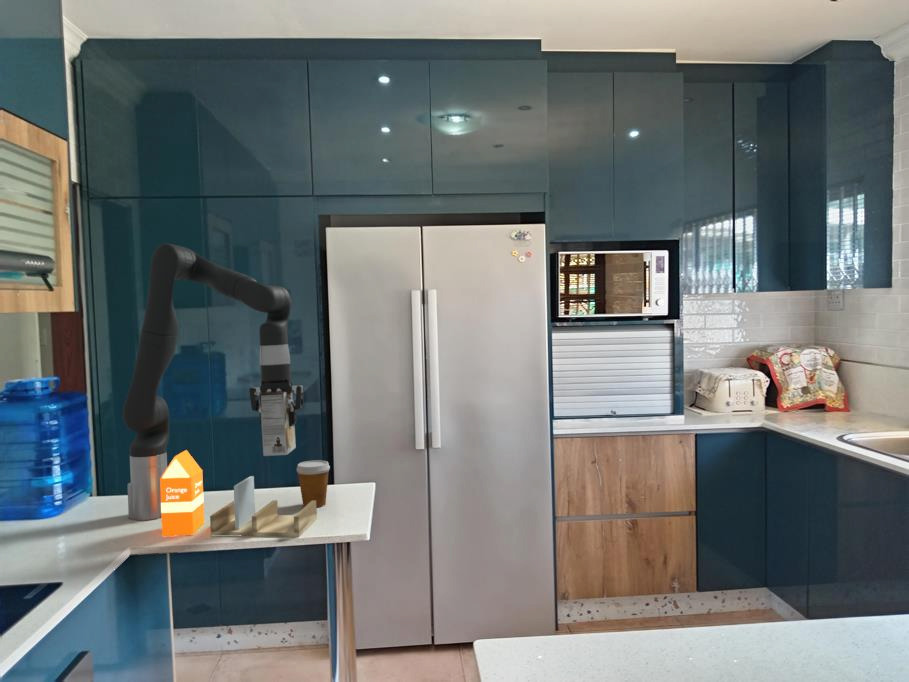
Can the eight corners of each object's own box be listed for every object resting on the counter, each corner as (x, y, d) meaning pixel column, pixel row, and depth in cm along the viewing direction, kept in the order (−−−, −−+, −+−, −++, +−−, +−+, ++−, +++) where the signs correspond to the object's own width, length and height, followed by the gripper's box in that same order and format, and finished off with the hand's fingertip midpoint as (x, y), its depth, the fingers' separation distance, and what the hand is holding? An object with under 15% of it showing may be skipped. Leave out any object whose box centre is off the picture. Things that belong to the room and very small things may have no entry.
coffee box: (272, 449, 173) (269, 389, 172) (296, 448, 173) (293, 388, 172) (262, 456, 164) (259, 393, 163) (287, 455, 164) (284, 392, 163)
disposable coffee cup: (327, 509, 181) (326, 467, 180) (293, 510, 181) (292, 467, 180) (334, 500, 190) (333, 459, 190) (302, 500, 190) (300, 460, 190)
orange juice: (204, 524, 170) (202, 448, 169) (193, 535, 161) (190, 455, 160) (174, 525, 169) (171, 450, 169) (161, 536, 160) (158, 457, 160)
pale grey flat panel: (235, 529, 162) (233, 486, 161) (251, 517, 172) (250, 476, 171) (239, 529, 162) (237, 486, 161) (255, 517, 172) (253, 476, 171)
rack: (210, 535, 160) (210, 516, 160) (235, 518, 174) (234, 500, 174) (299, 536, 158) (298, 516, 158) (316, 519, 172) (316, 500, 172)
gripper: (242, 364, 164) (246, 429, 165) (297, 362, 163) (301, 427, 164) (253, 362, 172) (257, 424, 172) (306, 360, 171) (309, 423, 171)
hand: (278, 426), depth 168 cm, fingers closed on coffee box, 6 cm apart
